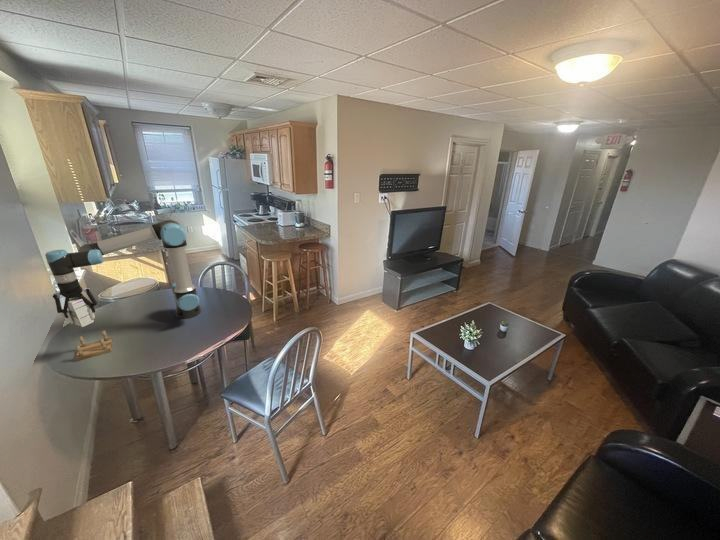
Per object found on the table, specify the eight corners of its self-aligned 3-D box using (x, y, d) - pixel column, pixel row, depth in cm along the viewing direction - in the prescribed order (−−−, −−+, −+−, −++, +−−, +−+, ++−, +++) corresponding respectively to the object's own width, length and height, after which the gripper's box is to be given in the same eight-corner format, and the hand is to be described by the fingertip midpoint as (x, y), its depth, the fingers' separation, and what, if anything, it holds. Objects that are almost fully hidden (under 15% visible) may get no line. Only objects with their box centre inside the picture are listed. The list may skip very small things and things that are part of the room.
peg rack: (80, 349, 158) (75, 337, 155) (112, 340, 166) (108, 328, 163) (76, 361, 149) (71, 348, 146) (111, 351, 157) (106, 339, 154)
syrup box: (94, 321, 153) (85, 297, 147) (81, 327, 148) (71, 302, 142) (87, 319, 155) (78, 295, 149) (74, 325, 149) (64, 301, 144)
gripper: (35, 288, 133) (54, 329, 142) (93, 278, 144) (107, 317, 153) (40, 282, 139) (58, 322, 148) (95, 273, 150) (109, 311, 159)
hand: (83, 320), depth 150 cm, fingers closed on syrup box, 8 cm apart
